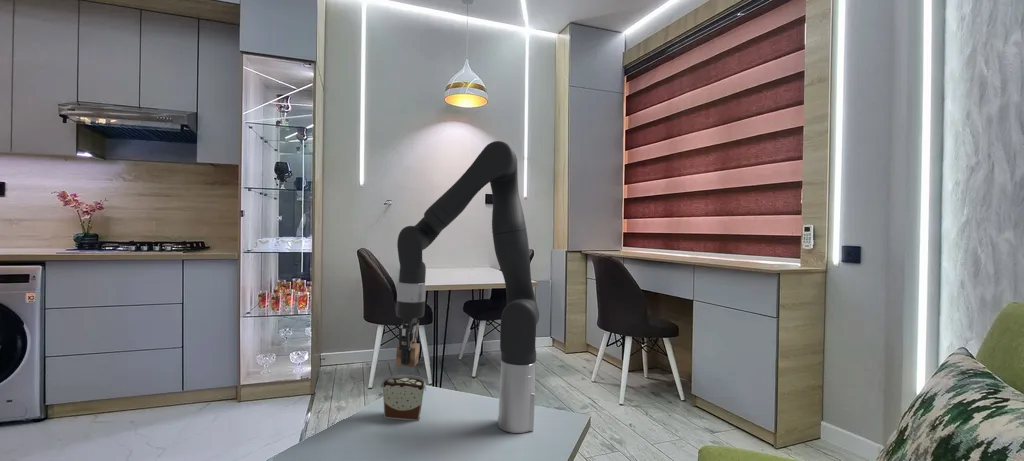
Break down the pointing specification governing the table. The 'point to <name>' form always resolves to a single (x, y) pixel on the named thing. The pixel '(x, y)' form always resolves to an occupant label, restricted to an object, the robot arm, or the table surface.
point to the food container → (403, 397)
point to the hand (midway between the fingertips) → (407, 361)
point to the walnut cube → (413, 355)
